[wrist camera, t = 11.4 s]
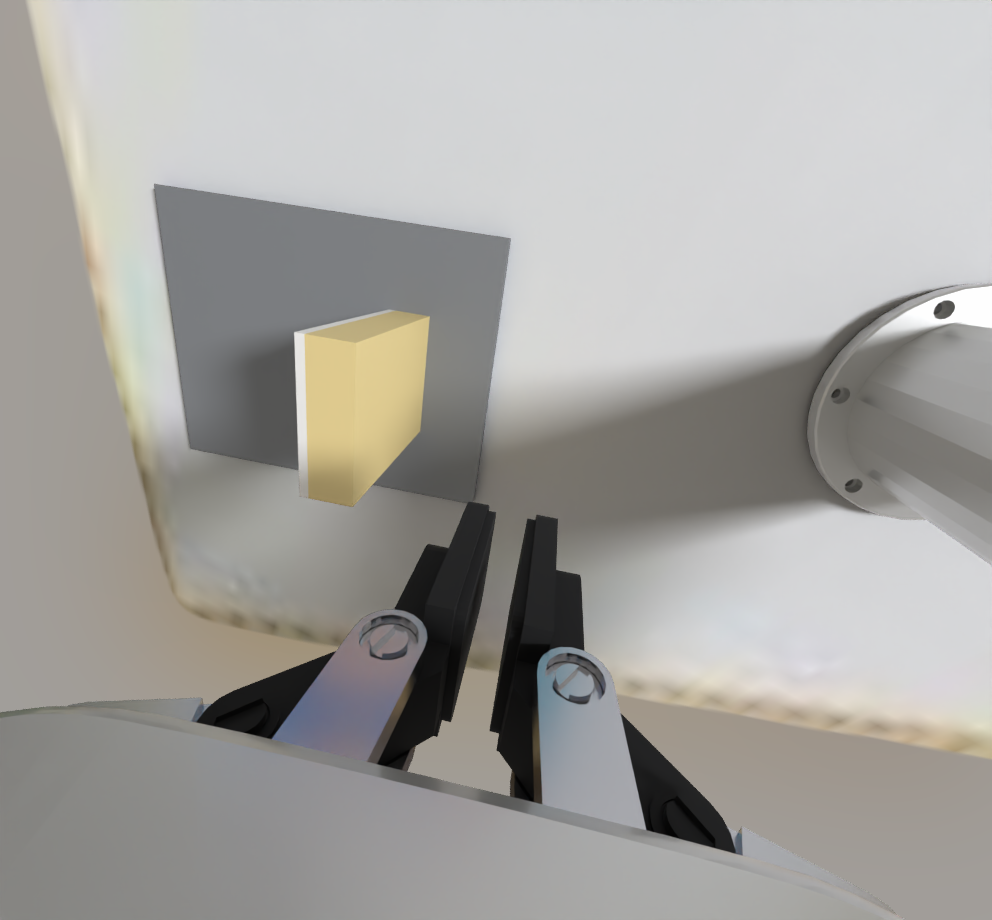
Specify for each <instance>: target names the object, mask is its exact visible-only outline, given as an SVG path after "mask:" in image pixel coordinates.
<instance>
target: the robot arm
mask: <svg viewBox="0 0 992 920" xmlns="http://www.w3.org/2000/svg"><path fill="white" fill-rule="evenodd" d="M934 308H935V310H934ZM834 390H836V392H835V393H834V394H833V395H832V393H833V392H834ZM807 438H808V443H809V449H810V454H811V457H812V459H813V461H814V463H815V466H816V468H817V470H818V472H819V473H820V474H821V475H822V477H823V478H824V479H825V481H826V482H827V483H828V484H829V485H830V486H831V487H832V488H833V489H834V490H835V491H836V492H838V493H839V494H840V495H841V496H842V497H843V498H845V499H847V500H848V501H850V502H851V503H853V504H855V505H856V506H858V507H859V508H861V509H864V510H867V511H869V512H872V513H875V514H877V515H880V516H886V517H891V518H896V519H904V520H927V521H929V522H930V523H932V524H933V525H935V526H936V527H937V528H939V529H940V530H942V531H943V532H945V533H946V534H947V535H949V536H950V537H952V538H953V539H955V540H956V541H957V542H959V543H960V544H962V545H963V546H965V547H966V548H967V549H969V550H970V551H972V552H973V553H975V554H976V555H977V556H979V557H980V558H982V559H983V560H984V561H986V562H987V563H989V564H990V565H992V283H979V284H963V285H959V286H954V287H949V288H944V289H940V290H936V291H933V292H930V293H928V294H925V295H922V296H919V297H917V298H914V299H911V300H909V301H907V302H905V303H903V304H901V305H900V306H898V307H896V308H894V309H892V310H890V311H889V312H887V313H885V314H883V315H882V316H880V317H879V318H878V319H876V320H875V321H874V322H872V323H871V324H870V325H868V326H867V327H866V328H864V329H863V330H862V331H860V332H859V333H858V334H857V335H856V336H855V337H854V338H853V339H852V340H851V341H850V342H849V343H848V344H847V345H846V346H845V347H844V348H843V349H842V350H841V351H840V352H839V354H838V355H837V356H836V358H835V359H834V360H833V362H832V363H831V365H830V366H829V367H828V369H827V370H826V372H825V373H824V375H823V377H822V379H821V381H820V383H819V385H818V387H817V389H816V391H815V393H814V396H813V400H812V404H811V407H810V411H809V414H808V429H807ZM495 517H496V512H491V511H489V505H484V504H479V503H474V502H468V504H467V506H466V508H465V511H464V513H463V516H462V518H461V520H460V523H459V525H458V528H457V530H456V532H455V535H454V537H453V539H452V542H451V544H450V547H449V548H445V547H440V546H436V545H431V544H428V545H427V546H426V548H425V549H424V551H423V553H422V555H421V557H420V559H419V561H418V563H417V565H416V567H415V569H414V571H413V573H412V575H411V577H410V579H409V581H408V583H407V585H406V587H405V589H404V591H403V593H402V595H401V597H400V599H399V601H398V603H397V605H396V607H395V609H392V610H381V611H377V612H374V613H371V614H369V615H367V616H366V617H364V618H362V619H361V620H360V621H359V622H358V623H357V624H356V625H355V626H354V628H353V629H352V630H351V632H350V633H349V634H348V636H347V637H346V638H345V640H344V641H343V643H342V644H341V645H340V647H339V648H338V649H337V651H335V652H332V653H330V654H327V655H325V656H322V657H319V658H317V659H315V660H312V661H309V662H307V663H304V664H301V665H299V666H296V667H294V668H291V669H289V670H286V671H284V672H281V673H278V674H276V675H273V676H271V677H268V678H266V679H263V680H260V681H258V682H255V683H253V684H250V685H248V686H245V687H242V688H240V689H237V690H234V691H232V692H231V693H229V694H226V695H225V696H223V697H221V698H219V699H218V700H217V701H215V702H214V703H213V704H203V700H202V698H181V699H154V700H129V701H99V702H84V703H78V704H72V705H68V706H52V707H39V708H31V709H23V710H15V711H6V712H0V920H905V919H903V918H902V917H900V916H898V915H897V914H896V913H895V912H894V911H893V910H892V909H891V908H890V907H889V906H887V905H886V904H885V903H883V902H882V901H880V900H879V899H877V898H876V897H874V896H873V895H872V894H870V893H869V892H867V891H865V890H863V889H861V888H859V887H857V886H855V885H853V884H851V883H849V882H847V881H845V880H844V879H842V878H840V877H838V876H836V875H834V874H832V873H830V872H828V871H826V870H824V869H823V868H821V867H819V866H817V865H815V864H813V863H811V862H809V861H807V860H805V859H803V858H802V857H799V856H798V855H796V854H794V853H792V852H790V851H788V850H786V849H784V848H782V847H780V846H778V845H777V844H775V843H773V842H771V841H769V840H767V839H765V838H763V837H761V836H759V835H757V834H755V833H754V832H752V831H750V830H748V829H746V828H744V827H741V829H740V830H739V832H736V831H734V830H733V829H731V828H729V827H727V826H726V824H725V822H724V820H723V818H722V817H721V816H720V815H719V813H718V812H717V811H716V810H715V808H714V807H713V806H712V805H711V803H710V802H709V801H708V800H707V799H706V798H705V797H703V795H702V794H701V793H700V792H699V791H698V790H697V789H696V788H695V787H693V785H692V784H690V782H689V781H688V780H687V779H686V778H685V777H684V776H683V775H682V774H681V773H680V772H679V771H678V770H677V769H676V768H675V767H674V766H673V765H672V764H671V763H670V762H669V761H668V760H667V759H666V758H665V757H664V756H663V755H662V754H661V753H660V752H659V751H658V750H657V749H656V748H655V747H654V746H653V745H652V744H651V743H650V742H649V741H648V740H647V739H646V738H645V737H644V736H643V735H642V734H641V733H640V732H639V731H638V730H637V729H636V728H635V727H634V726H633V725H632V724H631V723H630V722H629V721H628V720H627V719H626V718H625V717H624V716H623V715H622V714H621V713H620V709H619V705H618V700H617V695H616V691H615V686H614V682H613V680H612V677H611V675H610V672H609V671H608V670H607V668H606V667H605V666H604V664H603V663H602V662H600V661H599V660H598V659H597V658H596V657H594V656H593V655H591V654H589V653H587V652H585V651H584V634H583V613H582V591H581V577H580V575H577V574H572V573H567V572H563V571H558V570H556V555H557V525H558V519H555V518H550V517H545V516H540V515H537V516H536V520H532V519H527V524H526V529H525V534H524V539H523V544H522V549H521V554H520V559H519V564H518V569H517V574H516V580H515V585H514V590H513V595H512V600H511V605H510V610H509V616H508V622H507V628H506V634H505V640H504V646H503V652H502V659H501V665H500V671H499V677H498V683H497V689H496V695H495V701H494V707H493V713H492V719H491V725H490V731H492V732H496V733H499V738H498V745H497V751H499V752H500V754H501V755H502V756H503V758H504V759H505V761H506V762H507V763H508V765H509V766H510V768H511V769H512V773H511V780H510V796H505V795H501V794H497V793H493V792H489V791H485V790H481V789H477V788H473V787H469V786H464V785H460V784H456V783H452V782H448V781H444V780H440V779H436V778H431V777H427V776H423V775H419V774H415V773H410V772H407V771H408V768H409V766H410V763H411V761H412V759H413V755H414V751H415V747H416V745H418V744H420V743H421V742H423V741H425V740H427V739H429V738H430V737H432V736H436V737H437V736H438V732H439V729H440V725H441V721H442V720H445V721H449V722H451V720H452V717H453V712H454V709H455V705H456V701H457V697H458V693H459V689H460V685H461V681H462V677H463V673H464V669H465V665H466V661H467V657H468V653H469V650H470V646H471V642H472V638H473V634H474V630H475V626H476V622H477V618H478V614H479V610H480V606H481V601H482V596H483V590H484V584H485V578H486V572H487V566H488V560H489V554H490V548H491V542H492V536H493V530H494V523H495Z"/></svg>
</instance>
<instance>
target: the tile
mask: <svg viewBox="0 0 992 920" xmlns="http://www.w3.org/2000/svg"><path fill="white" fill-rule="evenodd" d="M429 319H430V316H425V315H419V314H413V313H407V312H401V311H395V310H385V311H380V312H376V313H372V314H368V315H364V316H359V317H355V318H351V319H347V320H343V321H339V322H334V323H330V324H326V325H322V326H318V327H313V328H309V329H305V330H301V331H297V332H294V342H295V372H296V402H297V433H298V463H299V493H300V497H305V498H310V499H315V500H320V501H325V502H330V503H335V504H340V505H345V506H350V507H353V506H354V505H355V504H356V503H357V502H358V501H359V499H360V498H361V497H362V496H363V495H364V494H365V493H366V492H367V490H368V489H369V488H370V487H371V486H372V485H373V484H374V483H375V481H376V480H377V479H378V478H379V477H380V476H381V475H382V474H383V472H384V471H385V470H386V469H387V468H388V467H389V466H390V465H391V463H392V462H393V461H394V460H395V459H396V458H397V457H398V456H399V454H400V453H401V452H402V451H403V450H404V449H405V448H406V447H407V445H408V444H409V443H410V442H411V441H412V440H413V439H414V438H415V436H416V435H417V434H418V433H419V432H420V428H421V416H422V404H423V392H424V379H425V367H426V355H427V343H428V331H429Z"/></svg>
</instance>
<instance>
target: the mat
mask: <svg viewBox="0 0 992 920" xmlns="http://www.w3.org/2000/svg"><path fill="white" fill-rule="evenodd" d="M154 188H155V195H156V202H157V210H158V217H159V224H160V231H161V239H162V246H163V253H164V260H165V268H166V275H167V282H168V289H169V297H170V304H171V311H172V318H173V326H174V333H175V340H176V348H177V355H178V362H179V369H180V377H181V384H182V391H183V398H184V406H185V413H186V420H187V427H188V435H189V442H190V449H194V450H199V451H204V452H209V453H215V454H220V455H225V456H230V457H235V458H240V459H245V460H250V461H255V462H260V463H265V464H270V465H276V466H281V467H286V468H291V469H296V470H299V463H298V433H297V402H296V372H295V342H294V332H297V331H301V330H305V329H309V328H313V327H318V326H322V325H326V324H330V323H334V322H339V321H343V320H347V319H351V318H355V317H359V316H364V315H368V314H372V313H376V312H380V311H385V310H395V311H401V312H407V313H413V314H419V315H425V316H430V319H429V331H428V343H427V355H426V367H425V379H424V392H423V404H422V416H421V428H420V432H419V433H418V434H417V435H416V436H415V438H414V439H413V440H412V441H411V442H410V443H409V444H408V445H407V447H406V448H405V449H404V450H403V451H402V452H401V453H400V454H399V456H398V457H397V458H396V459H395V460H394V461H393V462H392V463H391V465H390V466H389V467H388V468H387V469H386V470H385V471H384V472H383V474H382V475H381V476H380V477H379V478H378V479H377V480H376V481H375V483H374V484H373V485H377V486H382V487H387V488H392V489H398V490H403V491H408V492H413V493H418V494H423V495H428V496H433V497H438V498H443V499H448V500H453V501H458V502H464V503H468V502H474V497H475V490H476V483H477V476H478V469H479V462H480V455H481V447H482V440H483V433H484V426H485V419H486V412H487V405H488V398H489V391H490V383H491V376H492V369H493V362H494V355H495V348H496V341H497V334H498V326H499V319H500V312H501V305H502V298H503V291H504V284H505V277H506V270H507V262H508V255H509V248H510V241H511V239H510V238H504V237H498V236H491V235H485V234H478V233H472V232H465V231H459V230H452V229H446V228H439V227H433V226H426V225H419V224H413V223H406V222H400V221H393V220H387V219H380V218H374V217H367V216H361V215H354V214H348V213H341V212H335V211H328V210H321V209H315V208H308V207H302V206H295V205H289V204H282V203H276V202H269V201H263V200H256V199H250V198H243V197H237V196H230V195H223V194H217V193H210V192H204V191H197V190H191V189H184V188H178V187H171V186H165V185H158V184H154Z"/></svg>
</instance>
